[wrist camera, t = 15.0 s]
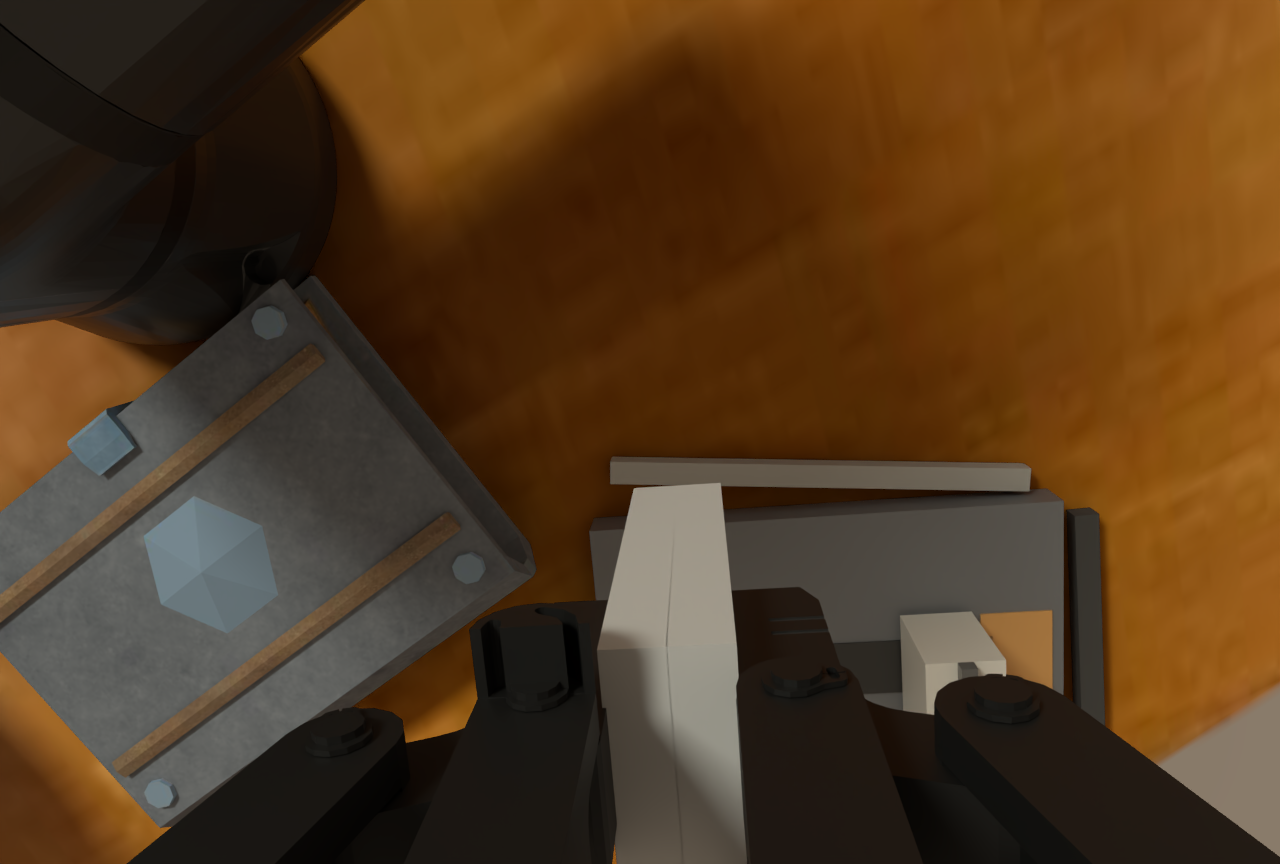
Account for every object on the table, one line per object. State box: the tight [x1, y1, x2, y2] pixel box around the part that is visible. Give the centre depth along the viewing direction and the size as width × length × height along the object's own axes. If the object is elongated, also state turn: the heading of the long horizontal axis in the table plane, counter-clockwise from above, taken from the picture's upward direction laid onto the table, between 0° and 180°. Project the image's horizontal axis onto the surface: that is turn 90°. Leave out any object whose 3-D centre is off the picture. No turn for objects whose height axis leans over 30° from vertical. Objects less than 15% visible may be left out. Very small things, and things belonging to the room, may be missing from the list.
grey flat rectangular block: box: [589, 489, 1064, 710], centre depth 44 cm, size 20×14×2 cm
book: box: [0, 276, 537, 828], centre depth 44 cm, size 21×16×5 cm
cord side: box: [1066, 508, 1105, 726], centre depth 43 cm, size 1×10×1 cm, turn 7°
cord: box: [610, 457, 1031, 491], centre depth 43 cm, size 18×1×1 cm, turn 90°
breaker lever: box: [900, 611, 1006, 715], centre depth 40 cm, size 3×5×5 cm, turn 5°
